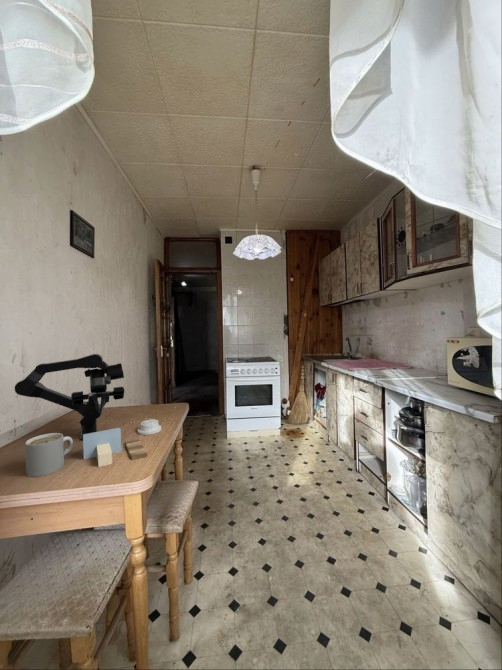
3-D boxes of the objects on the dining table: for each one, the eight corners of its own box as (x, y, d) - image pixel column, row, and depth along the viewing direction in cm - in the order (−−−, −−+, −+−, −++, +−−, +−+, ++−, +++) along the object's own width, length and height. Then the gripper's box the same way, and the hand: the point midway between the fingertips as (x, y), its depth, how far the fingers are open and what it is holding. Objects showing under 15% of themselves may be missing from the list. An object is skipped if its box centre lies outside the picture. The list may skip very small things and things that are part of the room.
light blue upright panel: (83, 456, 97) (82, 434, 97) (120, 448, 103) (119, 427, 103) (84, 470, 87) (83, 446, 87) (125, 460, 93) (124, 437, 93)
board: (125, 444, 107) (124, 441, 107) (138, 441, 109) (138, 438, 109) (131, 460, 93) (131, 456, 93) (147, 456, 96) (147, 452, 96)
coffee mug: (31, 480, 82) (30, 447, 81) (22, 470, 88) (21, 440, 87) (80, 462, 92) (79, 433, 92) (69, 455, 98) (68, 427, 98)
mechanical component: (132, 435, 117) (153, 436, 115) (132, 424, 117) (153, 426, 115) (146, 426, 127) (165, 427, 125) (145, 417, 127) (165, 418, 125)
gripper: (70, 372, 105) (70, 406, 96) (123, 367, 115) (127, 398, 106) (72, 388, 112) (72, 422, 103) (121, 383, 122) (125, 413, 113)
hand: (100, 413), depth 106 cm, fingers closed
